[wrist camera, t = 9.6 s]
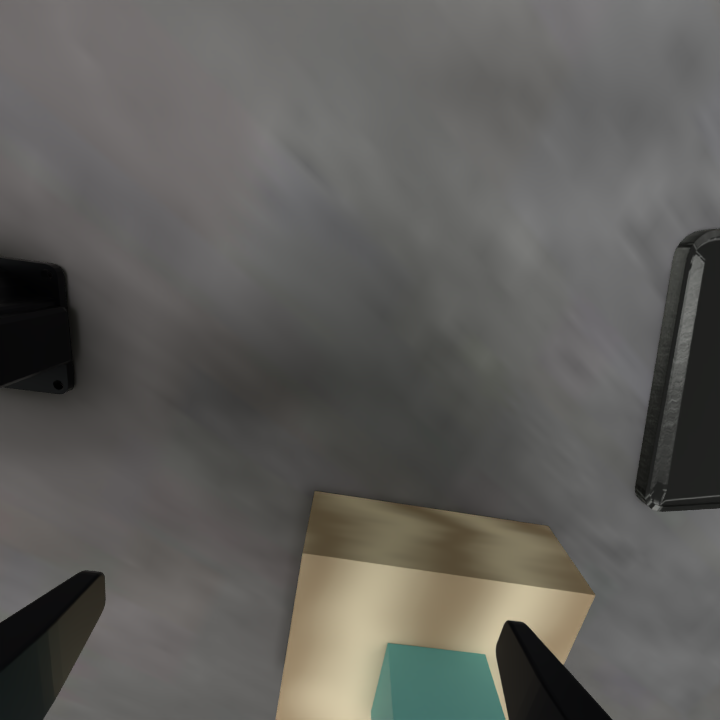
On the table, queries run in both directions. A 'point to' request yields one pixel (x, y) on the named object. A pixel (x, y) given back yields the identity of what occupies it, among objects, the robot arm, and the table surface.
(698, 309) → the phone
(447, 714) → the teal cube
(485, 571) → the oak box
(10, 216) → the table surface
